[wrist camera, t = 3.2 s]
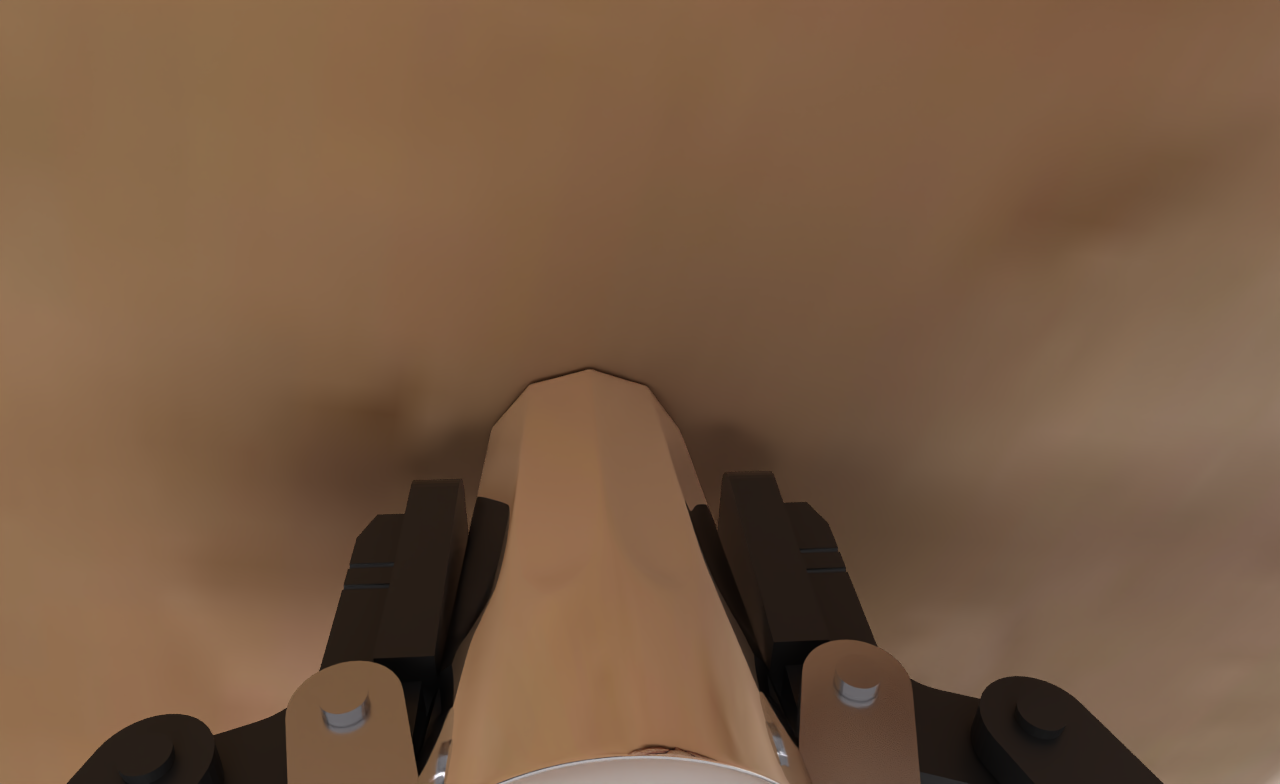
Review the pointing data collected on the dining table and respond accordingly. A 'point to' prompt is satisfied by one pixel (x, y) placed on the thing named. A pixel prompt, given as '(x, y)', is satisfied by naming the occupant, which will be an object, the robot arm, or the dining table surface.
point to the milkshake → (599, 612)
